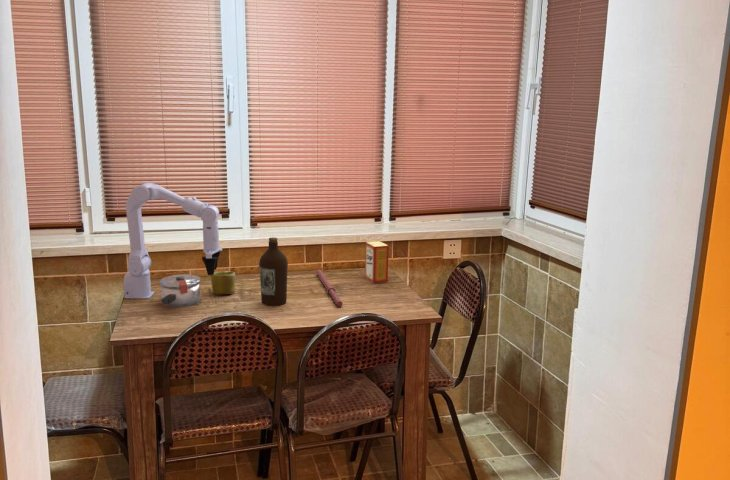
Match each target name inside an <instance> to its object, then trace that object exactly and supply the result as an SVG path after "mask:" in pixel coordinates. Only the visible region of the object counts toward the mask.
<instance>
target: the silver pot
mask: <svg viewBox="0 0 730 480" xmlns="http://www.w3.org/2000/svg"><path fill="white" fill-rule="evenodd" d="M200 285H201V282H200V283H199V284H198V285H196V286H193V287H188V288H187V291H188V293H182V294H181V293H180V290H179V288H166V287H163V286H161V285H160V286H161V287H160V290H161V304H162V305H163V306H166V307H168V308H169V307H170V308H185V307H191V306H195V305H197V304H199V303H200V302H201V286H200Z"/></svg>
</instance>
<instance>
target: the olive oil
mask: <svg viewBox="0 0 730 480" xmlns="http://www.w3.org/2000/svg"><path fill="white" fill-rule="evenodd" d="M278 245H279V242H278V237H274V236H273V237H269V238H268V249H266V251H264V253H263V254H262V255H261V257H260V258H259V265H258V268H259V279H260V280H259V281H260V295H261V299H260V300H261V303H262V305H265V306H267V307H268V306H269V307H278V306H282V305H285V304H286V303H287V302H288V301H287V299H288V298H287V297H288V296H287V294H288V293H287V291H288V289H287V288H288V265H289V264H288V259H287V256H286V254H284V253H283V252H282V250H281V249H279V247H278Z"/></svg>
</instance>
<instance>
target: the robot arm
mask: <svg viewBox="0 0 730 480" xmlns="http://www.w3.org/2000/svg"><path fill="white" fill-rule="evenodd" d="M160 199H161V200H164V201H167V202H170V203H173V204H175V205H177V206H180V207H181V208H182V210H183V211H184V212H186V213H187V214H190V215H192V216H195V217H197V218H200V219H201V221H202V233H203V234H202V237H203V238H202V242H203V249H202V251H203V253H204V254H205V256H201V260H202V262H203V264H204V266H205V270H206V273H207V275H208V276H211V275H214V273H215V270H217V268H218V263H219V257H220V254H221V252H222V251H223V248H222V247H220V243H219V242H220V240H219V238H220V236H219V221H218V220H219V219H218V217H219V215H220V209H219V208H218V207H217V206H216V205H214V204H209V203H207V202H203V201H201V200H198V199H197V197H195V196H192V197H191V196H190V197H189V196H188V197H183V196H181V195H179V194H177V193H175V192H174V191H172V190H169V189H167V188H165V187H163V186H161V185H160V184H157V183H156V184H155V183H153V182H150V181H147V182H145V183H142V184H139V185H137V186H135V187H134V188H133V189H131V191H130V194H129V196H128V197H127V200H126V203H125V213H126V221H127V228H128V229H127V230H128V238H129V247H130V251H129V254H128V262H127V265H126V268H127V271H128V273H125V274H124V276H123V293H124V296H123V298H124V299H141V300H142V299H144V300H145V299H150V297H152V296H153V295H154V294H155V291H153V290H152V285H151V283H152V282H151V273H150V272H151V271H150V267H151V265H152V259H151V257H150V255H149V252H148V250H147V248H146V244H145V242H146V241H145V236H144V235H145V234H144V233H145V232H144V226H143V218H142V217H143V215H142V207H143V206H144V205H145V204H146V203H147V202H148V201H150V200H151V201H153V200H160Z"/></svg>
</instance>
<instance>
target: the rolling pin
mask: <svg viewBox="0 0 730 480" xmlns="http://www.w3.org/2000/svg"><path fill="white" fill-rule="evenodd" d="M316 275H317V277H318V278H319V279H320V281H321V284H323V286H324V287H325V289H326V292H327V294H328V295H329V296H330V297H331V298H332V300H333V302H334V303H335V306H337V307H338V308H340V307H342V306H343V302H342V300H341V299H340V297H339V295H338V294H337V293H336V289H335V287H334V286H332V285H331V283H330V282H329V280H328V278H327V277H326V276H325V274H324V273H323V271H322V270H321V269H317V270H316Z"/></svg>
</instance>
